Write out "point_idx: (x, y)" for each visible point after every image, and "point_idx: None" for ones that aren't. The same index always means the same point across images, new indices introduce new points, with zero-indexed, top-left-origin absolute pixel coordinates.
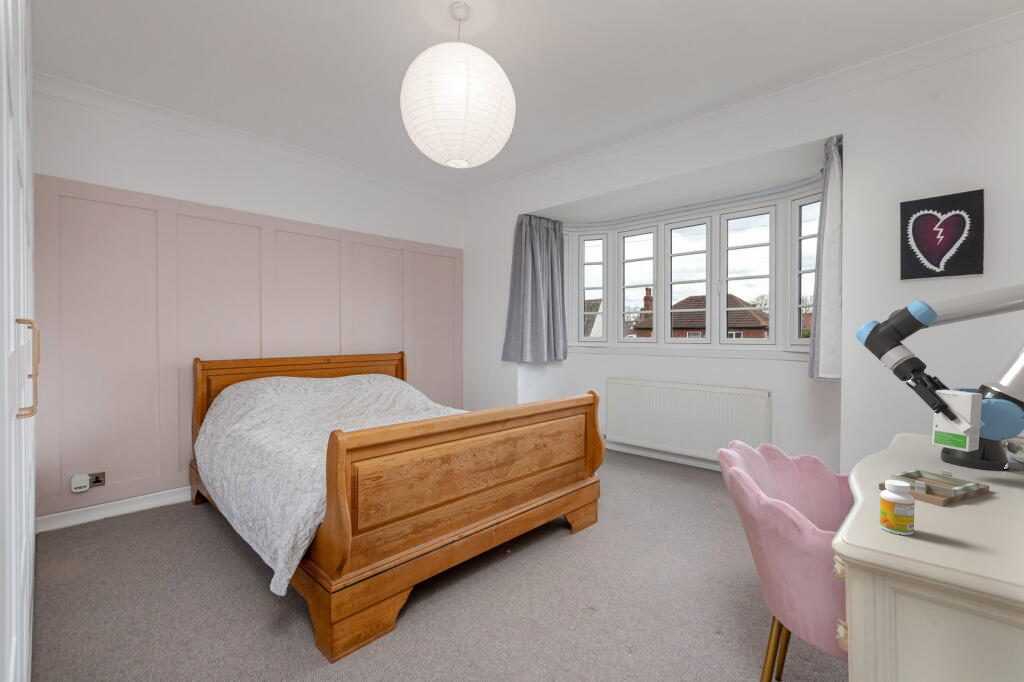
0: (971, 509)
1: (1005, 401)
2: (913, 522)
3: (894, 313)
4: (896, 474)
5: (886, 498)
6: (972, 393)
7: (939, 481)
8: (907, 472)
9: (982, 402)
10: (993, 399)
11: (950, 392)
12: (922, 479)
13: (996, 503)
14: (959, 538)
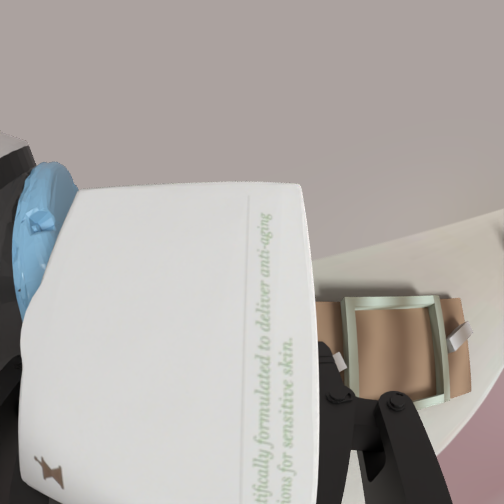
0: (429, 277)
1: (47, 170)
2: None
3: None
4: (438, 400)
5: None
6: (177, 208)
7: (360, 366)
8: None
9: (44, 256)
10: (27, 205)
11: (318, 387)
12: (377, 390)
13: (363, 271)
14: (501, 247)
